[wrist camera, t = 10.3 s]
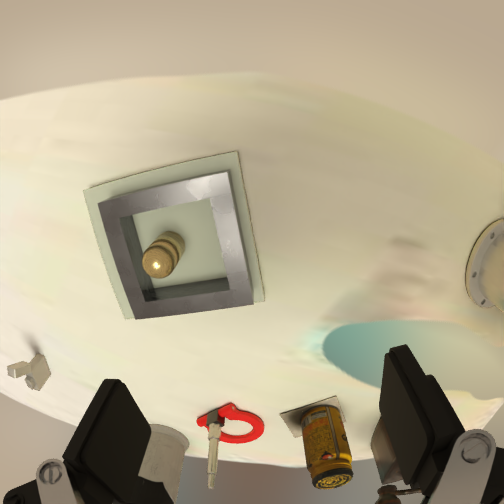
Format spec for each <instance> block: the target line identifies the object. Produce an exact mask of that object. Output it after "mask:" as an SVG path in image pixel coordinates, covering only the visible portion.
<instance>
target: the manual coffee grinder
mask: <svg viewBox="0 0 504 504" xmlns="http://www.w3.org/2000/svg"><path fill="white" fill-rule="evenodd" d="M371 449H372V452H373V455H374V458H375V461H376V465H377V468H378V472H379V475H380V479H381V483H382V484H383V485H384V484H388V483H392V482H396V481H399V480H403V477H402V474H401V471H400V468H399V465H398V462H397V459H396V456H395V453H394V450H393V447H392V444H391V441H390V438H389V435H388V433H387V430H386V427H385V424H384V421H383V419H382V417H381V419H380V420H379V422H378V424H377V427H376V429H375V432H374V434H373V437H372V441H371ZM396 490H397V488H396V486H395V485H386V486H382V487H381V488H379V489H378V491H377V492H378V494H379V499H378V500H377V501H376V503H375V504H401V501H400V499H399V498H397V497H396V495H406V494H413V493H422V492H421V489H420V488H417V489H414V490H412V489H407V490H397V491H396Z"/></svg>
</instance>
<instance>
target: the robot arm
mask: <svg viewBox="0 0 504 504" xmlns="http://www.w3.org/2000/svg"><path fill="white" fill-rule="evenodd" d="M466 287H467V292H468V294H469V297H470V298H471V299H472V301H473V302H475V303H476V304H477V305H478V306H480V307H484V308H489V307H493V306H496V307H497V308H499V309H500V310H501V311H502V312H503V313H504V219H501V220H498V221H496V222H494V223H493V224H491V225H490V226H489V227H488V228H487V229H486V230H485V231H484V232H483V233H482V235H481V236H480V238H479V239H478V240H477V242H476V244H475V246H474V248H473V250H472V253H471V256H470V258H469V262H468V266H467V272H466ZM379 409H380V413H381V416H382V419H383V421H384V424H385V427H386V430H387V433H388V435H389V438H390V441H391V444H392V447H393V450H394V453H395V456H396V459H397V462H398V465H399V468H400V471H401V474H402V477H403V480H404V483H405V484H406V485H408V484H410V486H411V489H412V490H414V489H417V488H420V489H421V492H422V494H423V495H425V496H424V498H423V500H422V502H421V503H420V504H504V449H503V448H499V447H496V443H495V439H494V438H493V436H492V435H491V434H490V433H488V432H487V431H484V430H481V429H473V430H468V431H465V429H464V427H463V426H462V424H461V422H460V420H459V418H458V417H457V415H456V413H455V411H454V409H453V408H452V406H451V404H450V402H449V401H448V399H447V397H446V396H445V394H444V392H443V390H442V389H441V387H440V385H439V384H438V382H437V381H436V379H435V378H434V376H433V375H425V373H424V372H423V370H422V368H421V367H420V365H419V364H418V362H417V360H416V359H415V357H414V355H413V354H412V352H411V350H410V349H409V347H408V346H407V345H406V344H405V345H401V346H397V347H393V348H390V350H389V353H386V354H385V359H384V369H383V378H382V386H381V394H380V401H379ZM150 437H151V427H150V425H149V423H148V422H147V420H146V419H145V417H144V415H143V414H142V412H141V411H140V409H139V407H138V406H137V404H136V402H135V401H134V399H133V397H132V395H131V394H130V392H129V390H128V388H127V387H126V385H125V384H124V383H122V382H121V380H119V379H105V380H104V381H103V382H102V384H101V386H100V387H99V389H98V391H97V393H96V394H95V396H94V398H93V400H92V401H91V403H90V405H89V407H88V409H87V411H86V412H85V414H84V416H83V418H82V420H81V422H80V423H79V425H78V427H77V429H76V431H75V433H74V435H73V437H72V439H71V440H70V442H69V444H68V446H67V448H66V450H65V452H64V454H63V456H62V457H63V459H64V461H63V462H61V461H60V460H58V459H48V460H46V461H44V462H43V463H42V464H41V465H40V466H39V468H38V469H37V472H36V479H35V480H33V481H31V482H28V483H26V484H24V485H21V486H19V487H17V488H14V489H12V490H10V491H8V493H7V494H6V495H5V497H4V500H3V504H126V503H127V502H128V501H130V500H131V497H132V494H133V490H134V487H135V484H136V481H137V477H138V474H139V471H140V468H141V465H142V462H143V458H144V455H145V452H146V449H147V446H148V443H149V440H150Z"/></svg>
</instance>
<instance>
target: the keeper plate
mask: <svg viewBox="0 0 504 504" xmlns="http://www.w3.org/2000/svg"><path fill="white" fill-rule="evenodd" d="M228 169H230V172H231V177H232V182H233V188H234V193H235V198H236V203H237V208H238V213H239V218H240V223H241V228H242V233H243V238H244V243H245V248H246V253H247V258H248V263H249V268H250V273H251V278H252V283H253V288H254V303H257V302H263V301H265V297H264V290H263V284H262V279H261V274H260V268H259V263H258V258H257V252H256V247H255V242H254V236H253V231H252V225H251V220H250V215H249V210H248V204H247V199H246V194H245V188H244V183H243V178H242V172H241V167H240V162H239V157H238V151H235V152H230V153H225V154H220V155H215V156H210V157H206V158H201V159H196V160H192V161H187V162H183V163H179V164H175V165H171V166H167V167H163V168H159V169H155V170H151V171H147V172H143V173H140V174H136V175H132V176H129V177H125V178H122V179H118V180H115V181H112V182H108V183H105V184H102V185H98V186H95V187H92V188H89V189H86V190H83V193H84V197H85V201H86V205H87V208H88V212H89V216H90V219H91V223H92V226H93V230H94V233H95V237H96V240H97V243H98V246H99V250H100V253H101V256H102V259H103V262H104V265H105V268H106V271H107V274H108V276H109V279H110V282H111V285H112V287H113V290H114V293H115V296H116V298H117V301H118V303H119V306H120V308H121V311H122V313H123V316H124V318H125V319H134V318H135V317H134V315H133V312H132V309H131V307H130V304H129V302H128V299H127V296H126V293H125V291H124V288H123V285H122V282H121V279H120V277H119V274H118V271H117V268H116V265H115V262H114V259H113V256H112V252H111V249H110V246H109V243H108V239H107V236H106V233H105V229H104V226H103V222H102V219H101V215H100V211H99V208H98V204H97V203H99V202H101V201H103V200H106V199H108V198H110V197H113V196H117V195H120V194H124V193H128V192H132V191H135V190H139V189H143V188H147V187H151V186H155V185H159V184H163V183H168V182H172V181H176V180H180V179H185V178H189V177H194V176H199V175H203V174H208V173H213V172H218V171H223V170H228ZM132 216H133V219H134V223H135V227H136V230H137V234H138V238H139V241H140V245H141V248H142V251H143V253H144V252H145V250H146V249H147V248H148V247H149V246H150V245H151V244H152V243H153V241H154V240H155V239H156V238H157V237H158V236H159V235H160V234H161V233H163V232H166V231H173V232H176V233H178V234H179V235H180V236H181V237H182V238H183V240H184V242H185V252H184V254H183V255H182V257H181V259H180V261H179V262H178V264H177V266H176V267H175V269H174V271H173V272H172V273H171V274H170V275H169V276H167V277H165V278H161V279H157V278H153V277H151V276H150V277H151V280H152V283H153V287H154V288H159V287H165V286H172V285H179V284H185V283H192V282H198V281H205V280H211V279H218V278H224V277H227V274H226V269H225V265H224V260H223V256H222V252H221V247H220V243H219V238H218V234H217V229H216V225H215V220H214V216H213V211H212V206H211V202H210V198H207V199H202V200H197V201H192V202H188V203H183V204H178V205H173V206H169V207H164V208H160V209H155V210H151V211H147V212H142V213H138V214H134V215H132Z"/></svg>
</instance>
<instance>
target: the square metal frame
mask: <svg viewBox="0 0 504 504" xmlns="http://www.w3.org/2000/svg"><path fill="white" fill-rule="evenodd" d="M207 198H210V202H211V206H212V211H213V216H214V220H215V225H216V229H217V234H218V238H219V243H220V247H221V252H222V256H223V260H224V265H225V269H226V274H227V277H224V278H218V279H211V280H205V281H198V282H192V283H185V284H179V285H172V286H165V287H159V288H154V287H153V283H152V280H151V277H150V276H149V275H148V274H147V273H146V272H145V270H144V269H143V266H142V256H143V251H142V248H141V245H140V241H139V238H138V234H137V230H136V227H135V223H134V219H133V216H132V215H134V214H138V213H142V212H147V211H151V210H155V209H160V208H164V207H169V206H173V205H178V204H183V203H188V202H192V201H197V200H202V199H207ZM97 204H98V208H99V211H100V215H101V219H102V222H103V226H104V229H105V233H106V236H107V239H108V243H109V246H110V249H111V252H112V256H113V259H114V262H115V265H116V268H117V271H118V274H119V277H120V279H121V282H122V285H123V288H124V291H125V293H126V296H127V299H128V302H129V304H130V307H131V309H132V312H133V315H134V317H135V320H136V319H145V318H154V317H163V316H172V315H180V314H188V313H196V312H203V311H211V310H218V309H225V308H232V307H239V306H245V305H252V304H254V288H253V283H252V278H251V273H250V268H249V263H248V258H247V253H246V248H245V243H244V238H243V233H242V228H241V223H240V218H239V213H238V208H237V203H236V198H235V193H234V188H233V182H232V177H231V172H230V169H228V170H223V171H218V172H213V173H208V174H203V175H199V176H194V177H189V178H185V179H180V180H176V181H172V182H168V183H163V184H159V185H155V186H151V187H147V188H143V189H139V190H135V191H132V192H128V193H124V194H120V195H117V196H113V197H110V198H108V199H106V200H103V201H101V202H99V203H97Z"/></svg>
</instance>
